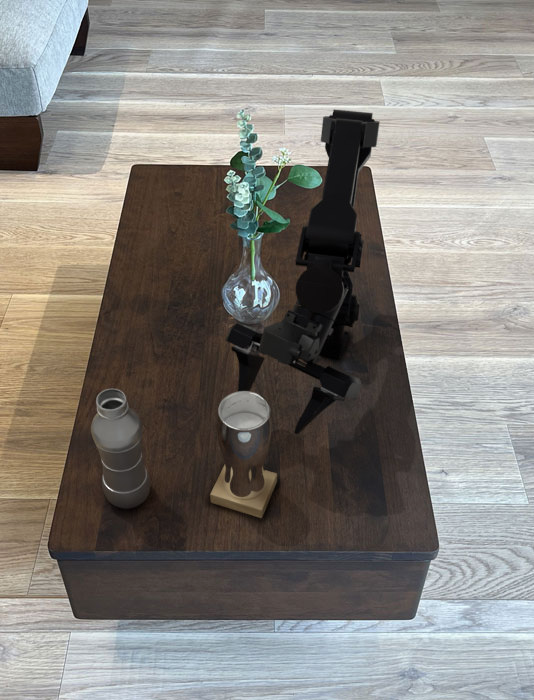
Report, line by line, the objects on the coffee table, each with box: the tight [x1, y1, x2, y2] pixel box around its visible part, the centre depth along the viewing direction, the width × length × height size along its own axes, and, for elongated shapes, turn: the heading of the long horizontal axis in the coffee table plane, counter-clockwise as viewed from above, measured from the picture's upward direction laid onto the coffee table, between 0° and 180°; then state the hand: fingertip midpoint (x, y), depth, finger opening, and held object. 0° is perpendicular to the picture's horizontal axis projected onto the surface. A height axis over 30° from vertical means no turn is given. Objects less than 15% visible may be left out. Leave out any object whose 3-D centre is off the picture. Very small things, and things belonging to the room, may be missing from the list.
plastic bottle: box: [90, 388, 152, 510], centre depth 104 cm, size 6×7×20 cm
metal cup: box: [216, 390, 272, 499], centre depth 105 cm, size 7×7×15 cm
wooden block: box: [209, 464, 278, 519], centre depth 111 cm, size 6×8×2 cm
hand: (267, 418), depth 107 cm, fingers open, 9 cm apart
